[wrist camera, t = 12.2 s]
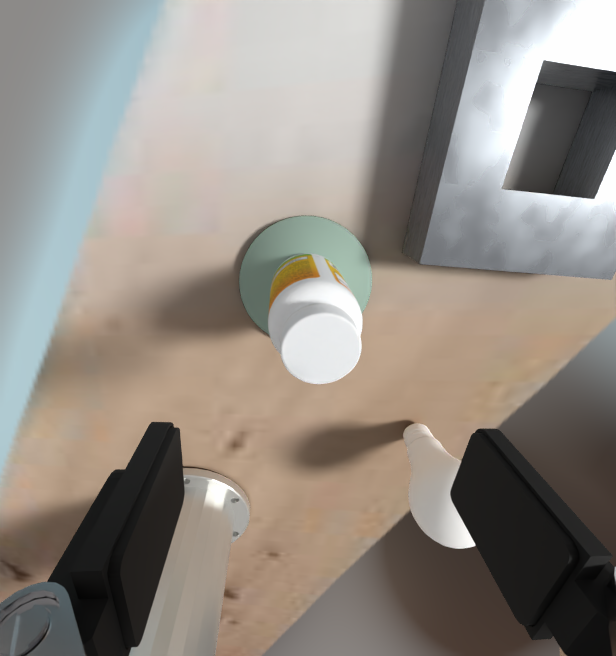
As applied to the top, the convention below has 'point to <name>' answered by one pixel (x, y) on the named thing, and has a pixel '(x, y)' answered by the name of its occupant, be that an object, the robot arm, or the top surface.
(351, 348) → the supplement bottle
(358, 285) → the pad
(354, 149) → the top surface
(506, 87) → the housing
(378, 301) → the top surface
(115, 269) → the top surface
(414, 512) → the lightbulb
